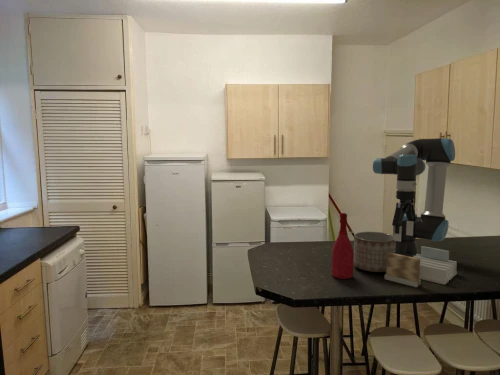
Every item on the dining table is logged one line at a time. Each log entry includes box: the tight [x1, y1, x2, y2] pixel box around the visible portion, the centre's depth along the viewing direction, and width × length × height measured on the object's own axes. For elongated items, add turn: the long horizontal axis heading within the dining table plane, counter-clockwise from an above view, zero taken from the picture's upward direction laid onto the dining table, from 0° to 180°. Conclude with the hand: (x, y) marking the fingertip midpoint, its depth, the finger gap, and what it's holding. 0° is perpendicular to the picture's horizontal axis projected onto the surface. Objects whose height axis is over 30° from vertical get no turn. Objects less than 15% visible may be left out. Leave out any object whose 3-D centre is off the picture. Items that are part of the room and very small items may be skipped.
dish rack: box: [413, 245, 458, 285], centre depth 166 cm, size 18×18×11 cm
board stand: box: [384, 273, 421, 288], centre depth 158 cm, size 14×5×2 cm, turn 46°
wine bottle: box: [331, 212, 354, 280], centre depth 164 cm, size 10×10×30 cm
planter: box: [353, 231, 396, 273], centre depth 175 cm, size 19×19×16 cm
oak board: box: [385, 252, 420, 287], centre depth 157 cm, size 14×2×12 cm, turn 46°
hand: (403, 238), depth 156 cm, fingers open, 13 cm apart
